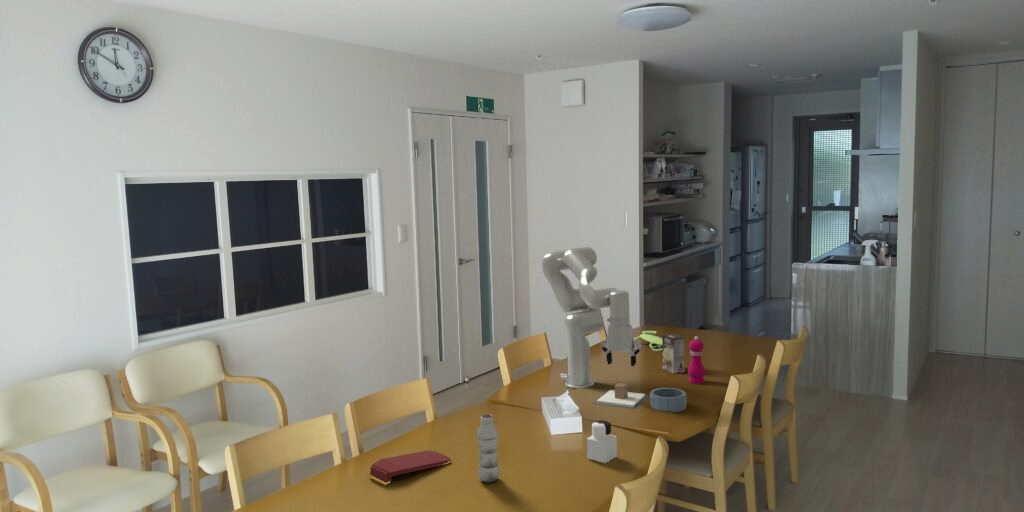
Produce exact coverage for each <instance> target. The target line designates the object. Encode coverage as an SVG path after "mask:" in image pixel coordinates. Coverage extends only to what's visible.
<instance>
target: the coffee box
mask: <svg viewBox="0 0 1024 512" xmlns="http://www.w3.org/2000/svg"><path fill="white" fill-rule="evenodd" d="M661 338H662V343H663V346H662V348H663V350H662V370H664V371H667V372H668V373H672V374H673V373H674V374H679V373H678V372H680V373H685V337H684V336H683V335H682V336H681V335H680V334H676V333H668V334H662V337H661Z"/></svg>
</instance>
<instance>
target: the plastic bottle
mask: <svg viewBox="0 0 1024 512" xmlns="http://www.w3.org/2000/svg"><path fill="white" fill-rule="evenodd" d="M476 437H477V438H476V439H477V442H478V450H479V463H478V464H479V465H478V470H477V471H478V473H477V474H478V476H479V479H480V481H482V482H483V481H484V482H483V483H494V482H496V481H497V480H498V479H499V477H500V473H501V470H500V466H499V462H498V461H499V460H498V440H499V439H498V438H499V432H498V429H497V428H496V426H495V425H494V417H493V414H490V413H489V414H488V413H486V414H482V415H481V416H480V426H479V428H478V429H477V432H476ZM493 481H494V482H493Z"/></svg>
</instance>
